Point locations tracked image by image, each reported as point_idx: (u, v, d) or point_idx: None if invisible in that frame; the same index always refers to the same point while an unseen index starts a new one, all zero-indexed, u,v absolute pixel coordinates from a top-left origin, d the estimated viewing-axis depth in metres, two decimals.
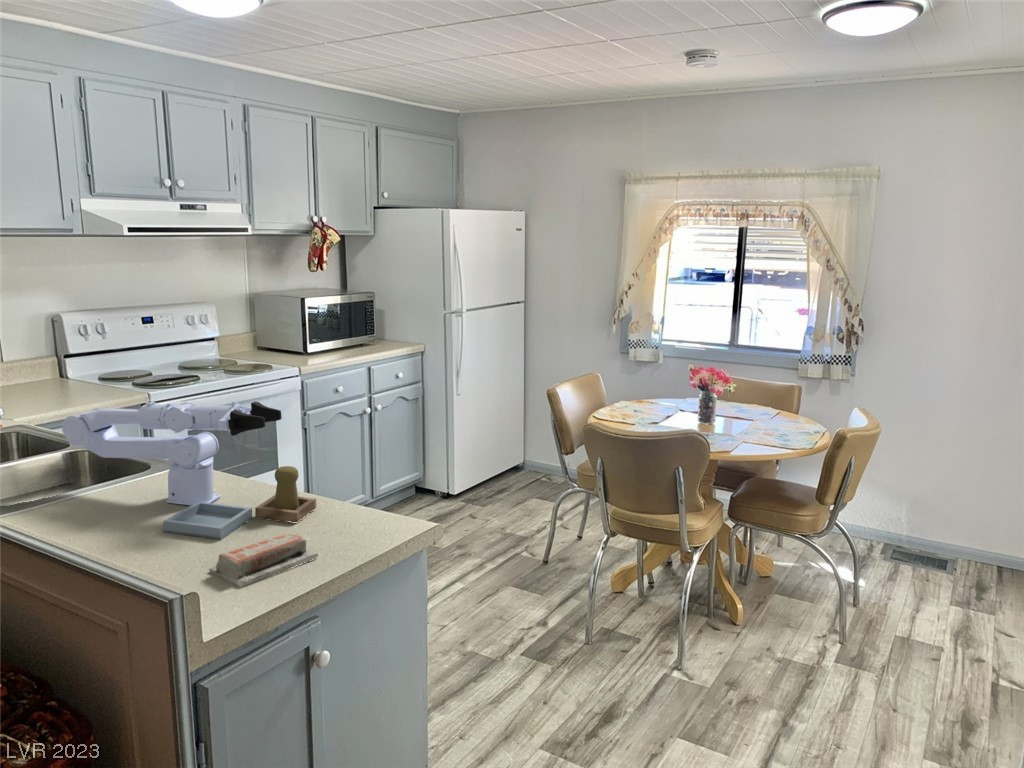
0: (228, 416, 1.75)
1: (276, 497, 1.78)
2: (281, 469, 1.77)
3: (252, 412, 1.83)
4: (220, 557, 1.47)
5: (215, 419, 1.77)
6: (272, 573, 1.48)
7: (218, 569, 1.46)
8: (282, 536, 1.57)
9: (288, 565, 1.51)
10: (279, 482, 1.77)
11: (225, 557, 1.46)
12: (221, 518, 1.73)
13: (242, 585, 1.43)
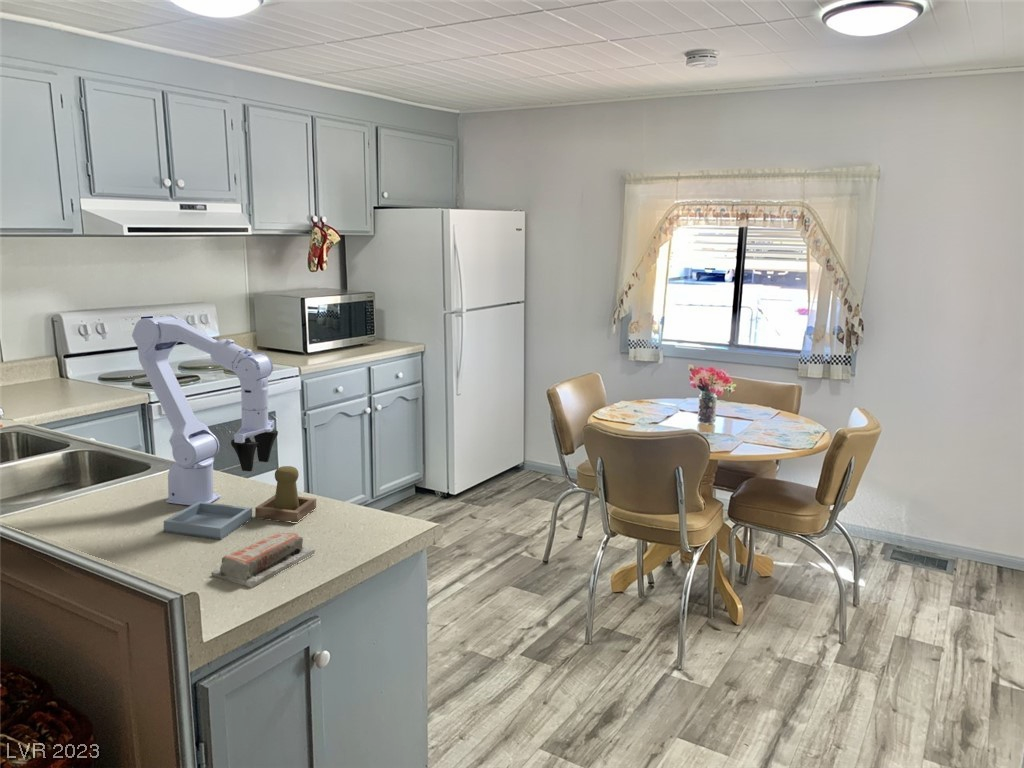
0: None
1: (276, 497, 1.78)
2: (281, 469, 1.77)
3: (265, 432, 1.82)
4: (224, 560, 1.46)
5: (249, 415, 1.74)
6: (277, 572, 1.49)
7: (223, 572, 1.45)
8: (277, 535, 1.58)
9: (290, 563, 1.52)
10: (279, 482, 1.77)
11: (230, 559, 1.45)
12: (221, 518, 1.73)
13: (252, 585, 1.43)
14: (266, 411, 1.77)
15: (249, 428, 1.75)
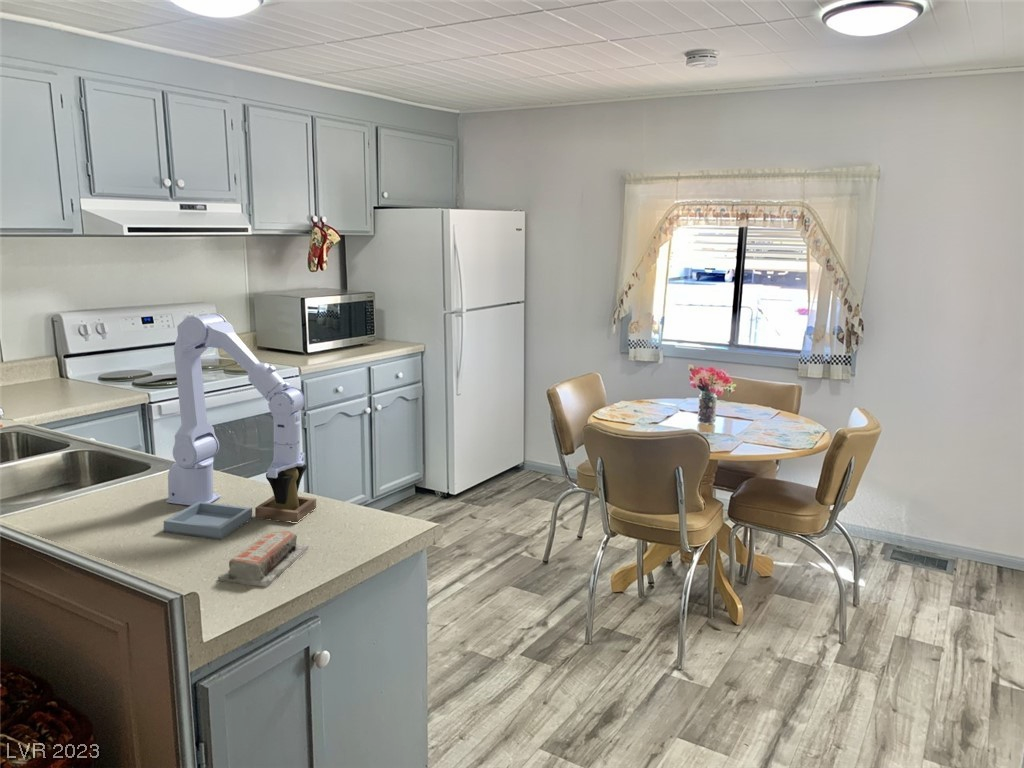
0: None
1: None
2: None
3: None
4: (233, 563, 1.44)
5: (282, 449, 1.75)
6: (284, 569, 1.50)
7: (232, 575, 1.44)
8: (270, 534, 1.58)
9: (293, 560, 1.53)
10: None
11: (239, 561, 1.44)
12: (221, 518, 1.73)
13: (267, 585, 1.44)
14: (298, 445, 1.77)
15: (281, 462, 1.75)
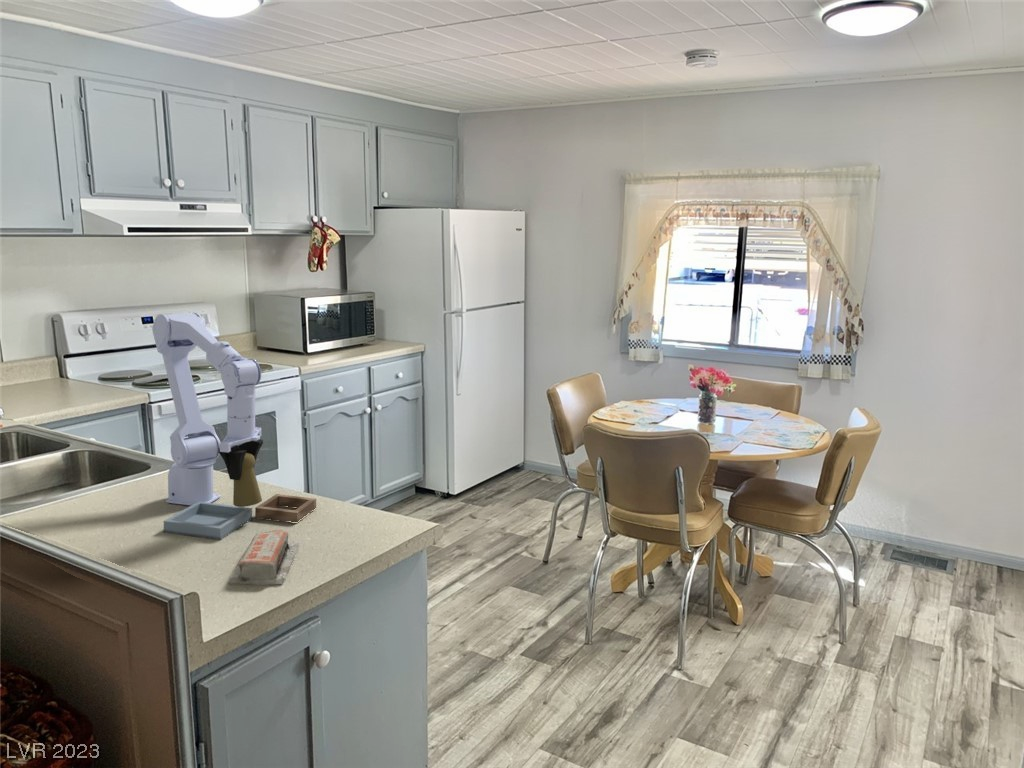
0: None
1: (234, 486, 1.71)
2: None
3: (250, 442, 1.74)
4: (244, 565, 1.44)
5: (235, 423, 1.68)
6: None
7: (245, 577, 1.44)
8: (263, 535, 1.57)
9: (293, 557, 1.55)
10: None
11: (251, 562, 1.44)
12: (221, 518, 1.73)
13: (283, 582, 1.45)
14: (253, 419, 1.70)
15: (235, 436, 1.68)
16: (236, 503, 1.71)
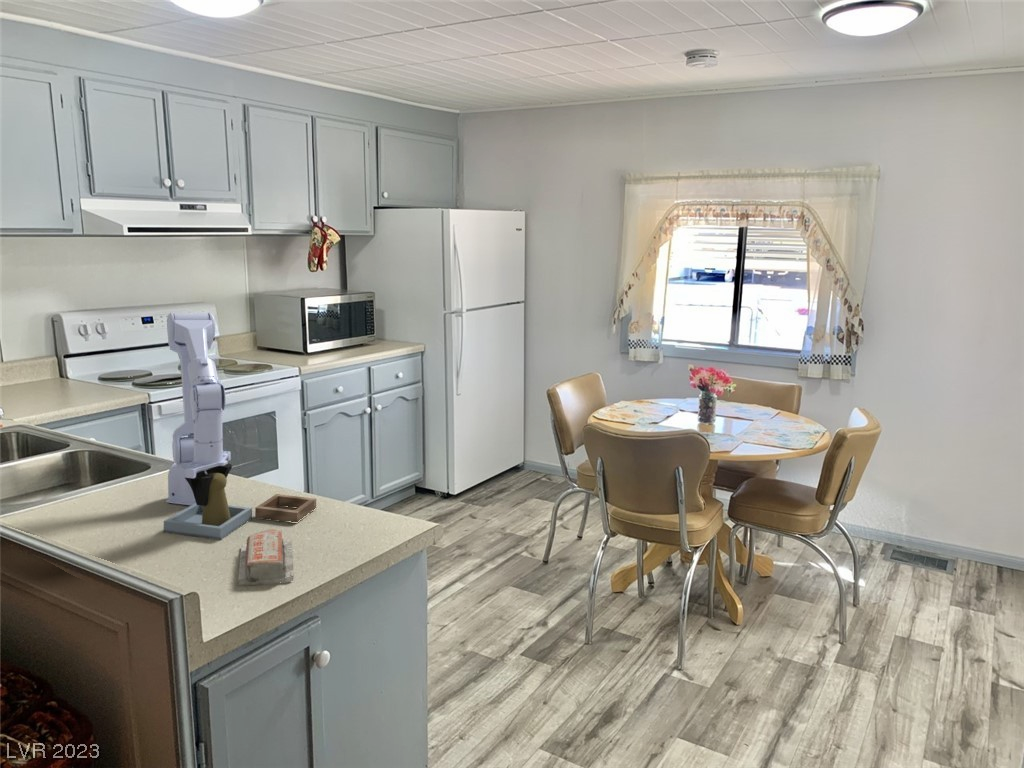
0: None
1: (204, 506, 1.68)
2: None
3: (218, 466, 1.71)
4: (253, 565, 1.44)
5: (202, 448, 1.64)
6: None
7: (254, 577, 1.44)
8: (258, 535, 1.57)
9: (292, 555, 1.56)
10: None
11: (260, 562, 1.44)
12: None
13: (292, 580, 1.46)
14: (220, 443, 1.67)
15: (201, 462, 1.65)
16: (205, 524, 1.68)
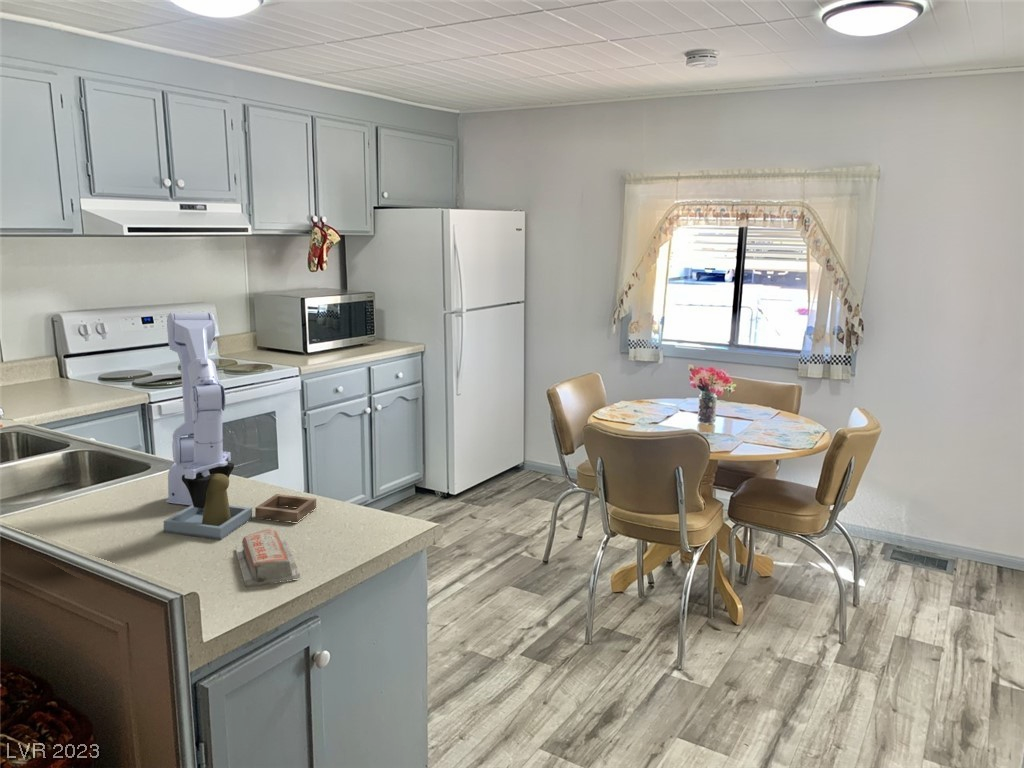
0: None
1: (205, 507, 1.68)
2: (210, 477, 1.67)
3: (220, 466, 1.72)
4: (260, 565, 1.44)
5: (202, 449, 1.65)
6: None
7: (261, 577, 1.44)
8: (254, 536, 1.56)
9: None
10: (208, 491, 1.67)
11: (267, 562, 1.45)
12: None
13: None
14: (220, 444, 1.67)
15: (201, 462, 1.65)
16: (205, 524, 1.68)
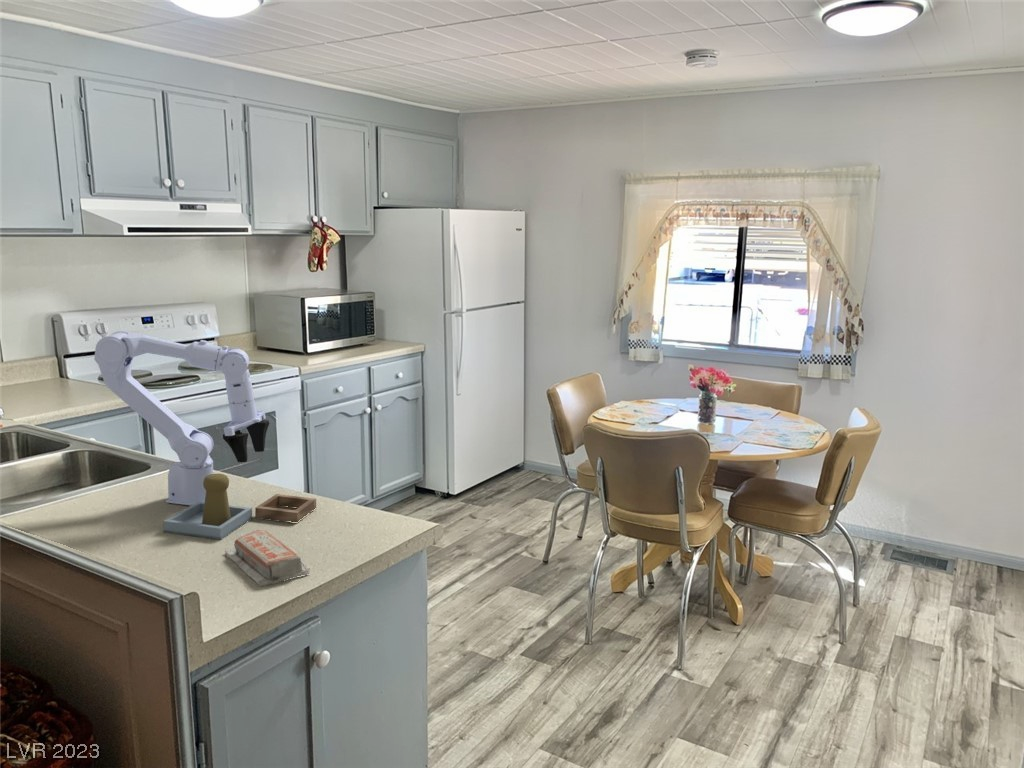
0: None
1: (205, 507, 1.68)
2: (210, 477, 1.67)
3: (256, 423, 1.88)
4: (273, 564, 1.45)
5: (236, 408, 1.80)
6: None
7: (276, 576, 1.45)
8: (247, 538, 1.55)
9: None
10: (208, 491, 1.67)
11: (280, 560, 1.46)
12: None
13: (309, 572, 1.50)
14: (252, 402, 1.82)
15: (238, 421, 1.81)
16: (205, 524, 1.68)
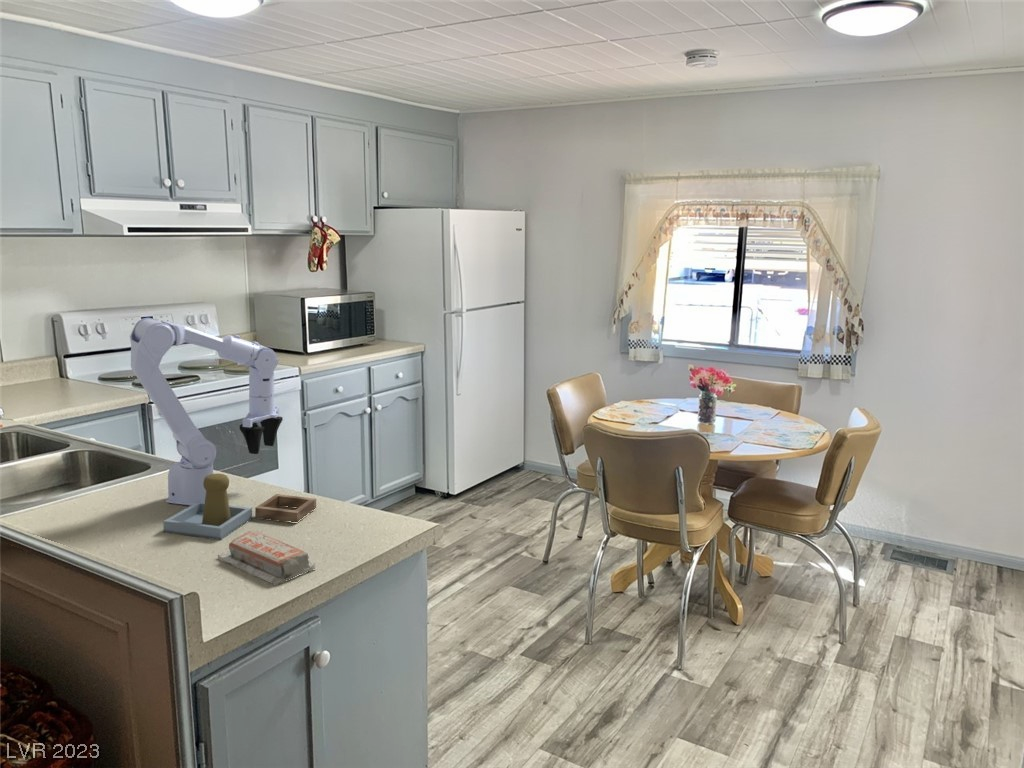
0: None
1: (205, 507, 1.68)
2: (210, 477, 1.67)
3: (271, 418, 1.95)
4: (285, 562, 1.46)
5: (256, 402, 1.88)
6: None
7: (288, 573, 1.46)
8: (242, 539, 1.54)
9: None
10: (208, 491, 1.67)
11: (290, 558, 1.47)
12: None
13: (315, 567, 1.52)
14: (272, 398, 1.90)
15: (256, 414, 1.89)
16: (205, 524, 1.68)
